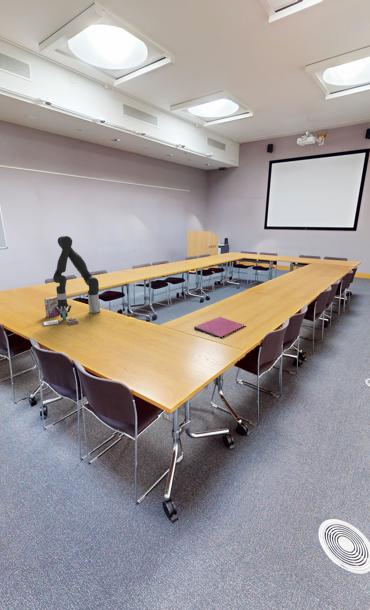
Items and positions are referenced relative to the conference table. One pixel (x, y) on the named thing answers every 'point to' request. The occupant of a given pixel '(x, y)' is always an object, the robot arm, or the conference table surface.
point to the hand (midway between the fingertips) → (64, 317)
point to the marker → (63, 314)
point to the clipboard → (51, 323)
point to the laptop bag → (218, 327)
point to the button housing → (72, 321)
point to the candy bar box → (51, 306)
